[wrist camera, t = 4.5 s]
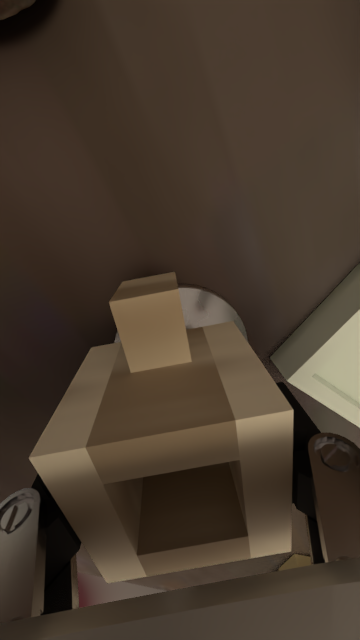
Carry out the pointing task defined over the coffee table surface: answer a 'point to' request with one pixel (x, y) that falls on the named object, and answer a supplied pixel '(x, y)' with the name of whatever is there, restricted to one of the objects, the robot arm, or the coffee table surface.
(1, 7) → the candle
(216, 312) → the round disc with post
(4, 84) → the coffee table surface
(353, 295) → the tray
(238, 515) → the beige lantern
